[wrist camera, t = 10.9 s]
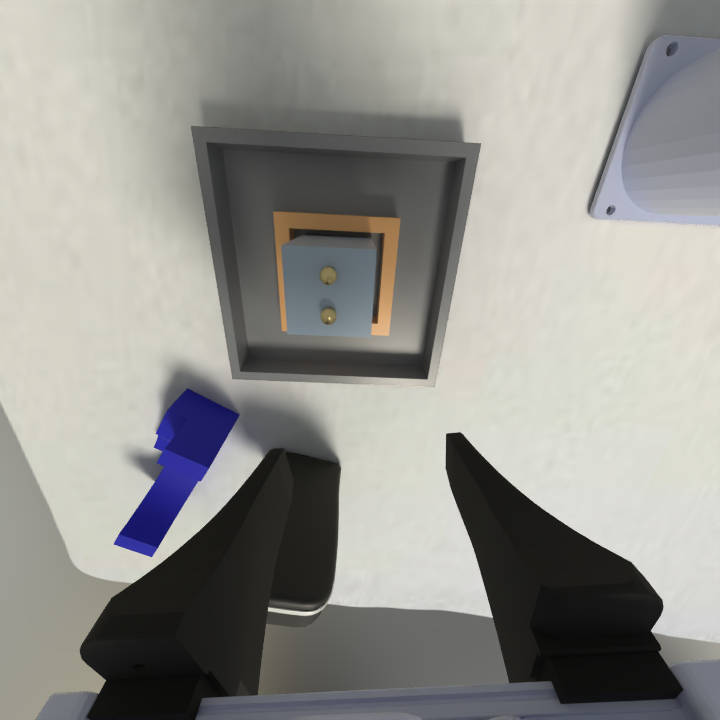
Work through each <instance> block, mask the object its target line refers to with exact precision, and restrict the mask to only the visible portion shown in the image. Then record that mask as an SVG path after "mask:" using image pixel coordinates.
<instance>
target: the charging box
mask: <svg viewBox="0 0 720 720" xmlns="http://www.w3.org/2000/svg"><path fill="white" fill-rule="evenodd" d="M191 130H192V136H193V142H194V148H195V154H196V160H197V166H198V172H199V178H200V184H201V190H202V197H203V203H204V209H205V215H206V221H207V227H208V233H209V239H210V245H211V251H212V257H213V263H214V270H215V276H216V282H217V288H218V294H219V300H220V306H221V312H222V318H223V324H224V330H225V337H226V343H227V349H228V355H229V361H230V367H231V373H232V379H244V380H269V381H293V382H317V383H342V384H366V385H391V386H415V387H435V384H436V379H437V374H438V369H439V363H440V358H441V353H442V347H443V342H444V337H445V331H446V326H447V321H448V316H449V310H450V305H451V300H452V294H453V289H454V284H455V279H456V273H457V268H458V263H459V257H460V252H461V247H462V242H463V236H464V231H465V226H466V220H467V215H468V210H469V205H470V199H471V194H472V189H473V183H474V178H475V173H476V167H477V162H478V157H479V152H480V146H481V143H465V142H448V141H432V140H415V139H398V138H382V137H365V136H349V135H332V134H315V133H299V132H282V131H266V130H249V129H232V128H216V127H199V126H191ZM305 233H310V234H331V235H353V236H371V237H372V239H373V242H374V244H375V247H376V249H377V252H376V267H375V283H374V298H373V314H372V329H371V338H367V337H342V336H317V335H292V334H287V323H286V309H285V295H284V280H283V266H282V252H281V245H283V244H285V243H287V242H289V241H291V240H293V239H295V238H297V237H299V236H301V235H303V234H305Z"/></svg>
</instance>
